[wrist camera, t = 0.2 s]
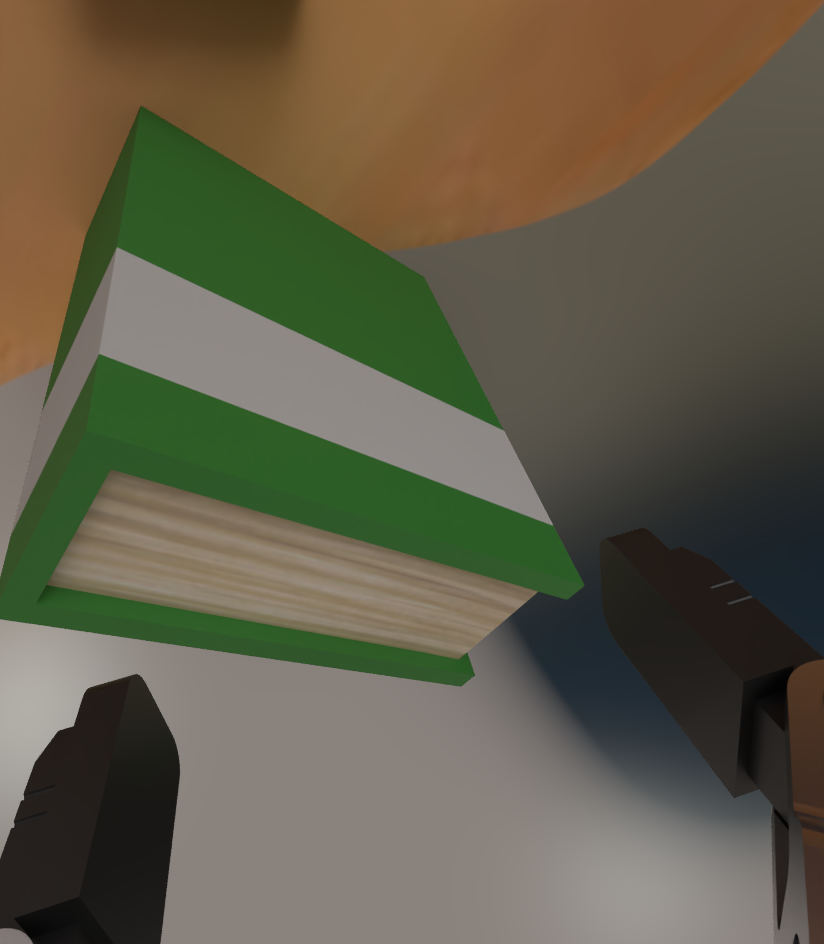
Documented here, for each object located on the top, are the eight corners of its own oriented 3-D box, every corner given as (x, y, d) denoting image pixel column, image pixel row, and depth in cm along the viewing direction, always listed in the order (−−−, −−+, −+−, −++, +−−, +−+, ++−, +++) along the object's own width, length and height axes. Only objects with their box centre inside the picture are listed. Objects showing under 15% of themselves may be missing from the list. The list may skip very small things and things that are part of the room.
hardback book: (424, 277, 41) (584, 585, 24) (359, 364, 44) (461, 686, 28) (140, 105, 31) (86, 429, 14) (85, 235, 34) (-10, 617, 18)
